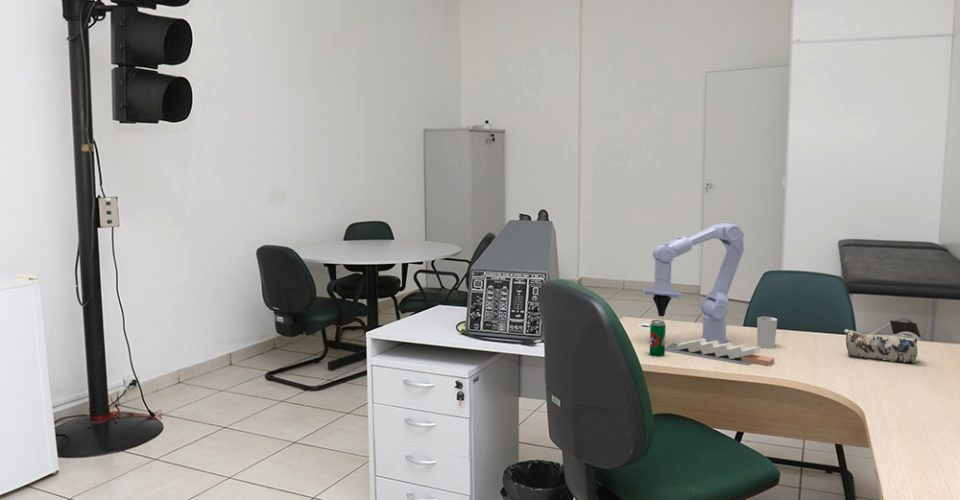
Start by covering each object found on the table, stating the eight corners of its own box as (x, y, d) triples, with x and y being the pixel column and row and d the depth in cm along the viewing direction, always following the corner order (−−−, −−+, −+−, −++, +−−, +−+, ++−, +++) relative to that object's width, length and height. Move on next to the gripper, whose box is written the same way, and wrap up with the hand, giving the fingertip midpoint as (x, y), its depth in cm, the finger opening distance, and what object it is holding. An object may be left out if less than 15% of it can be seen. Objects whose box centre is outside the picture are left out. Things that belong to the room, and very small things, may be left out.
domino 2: (688, 347, 252) (712, 342, 246) (693, 345, 255) (717, 340, 250) (689, 352, 251) (713, 347, 246) (695, 349, 255) (719, 344, 250)
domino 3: (701, 350, 249) (725, 345, 243) (706, 347, 253) (731, 342, 247) (702, 354, 249) (727, 349, 243) (707, 351, 252) (732, 346, 247)
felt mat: (673, 344, 264) (673, 343, 264) (760, 358, 245) (760, 357, 245) (659, 351, 255) (659, 350, 255) (748, 366, 236) (748, 365, 236)
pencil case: (915, 360, 244) (918, 332, 243) (917, 366, 237) (919, 337, 235) (843, 352, 254) (844, 324, 253) (842, 358, 247) (844, 329, 246)
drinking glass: (755, 347, 260) (757, 319, 259) (756, 342, 267) (757, 316, 265) (775, 349, 258) (777, 321, 257) (775, 344, 264) (777, 317, 263)
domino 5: (728, 354, 243) (754, 348, 237) (733, 351, 247) (759, 345, 241) (729, 359, 243) (755, 353, 237) (734, 356, 247) (760, 350, 241)
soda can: (664, 358, 246) (666, 323, 244) (649, 357, 247) (650, 322, 245) (664, 354, 251) (665, 320, 249) (649, 353, 252) (650, 319, 250)
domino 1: (675, 345, 254) (699, 340, 249) (681, 342, 258) (705, 338, 253) (677, 350, 254) (700, 345, 249) (682, 347, 258) (706, 342, 252)
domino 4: (714, 352, 246) (740, 346, 240) (720, 349, 250) (745, 343, 244) (716, 357, 246) (741, 351, 240) (721, 353, 250) (746, 348, 244)
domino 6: (741, 356, 240) (769, 361, 235) (746, 353, 244) (774, 358, 239) (741, 361, 240) (769, 366, 235) (746, 358, 244) (774, 362, 239)
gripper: (639, 278, 263) (638, 315, 265) (677, 282, 254) (676, 320, 256) (647, 275, 269) (646, 311, 270) (685, 279, 260) (684, 317, 261)
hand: (661, 315), depth 263 cm, fingers closed
